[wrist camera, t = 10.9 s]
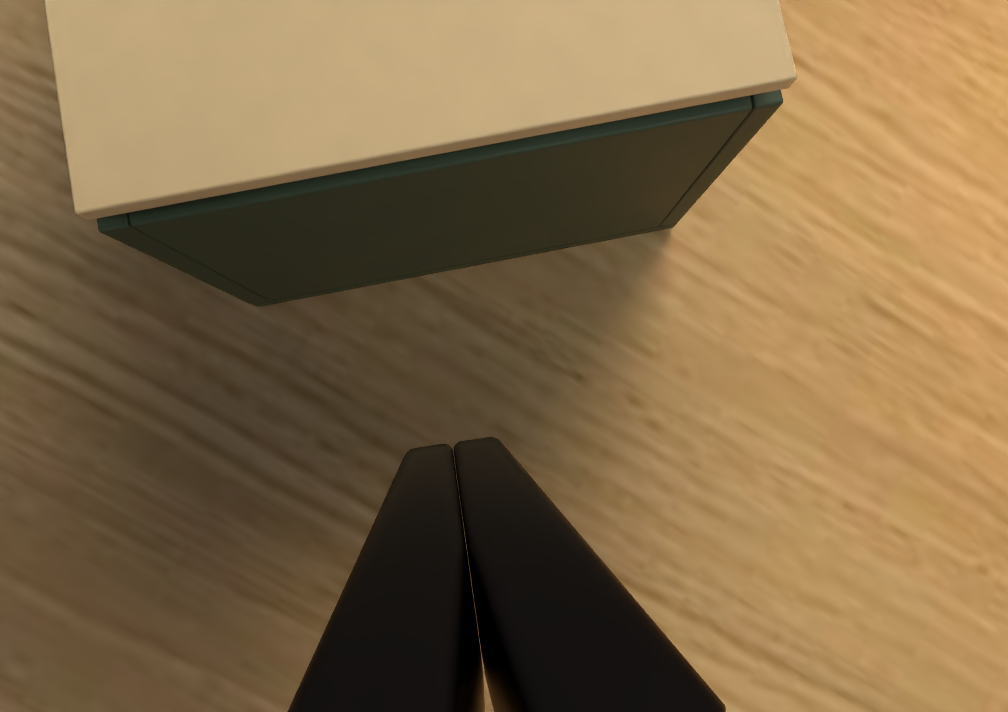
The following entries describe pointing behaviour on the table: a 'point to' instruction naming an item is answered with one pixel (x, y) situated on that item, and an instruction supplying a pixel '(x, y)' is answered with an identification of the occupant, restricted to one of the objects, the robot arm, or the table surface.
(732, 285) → the table surface
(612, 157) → the box
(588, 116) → the flap
